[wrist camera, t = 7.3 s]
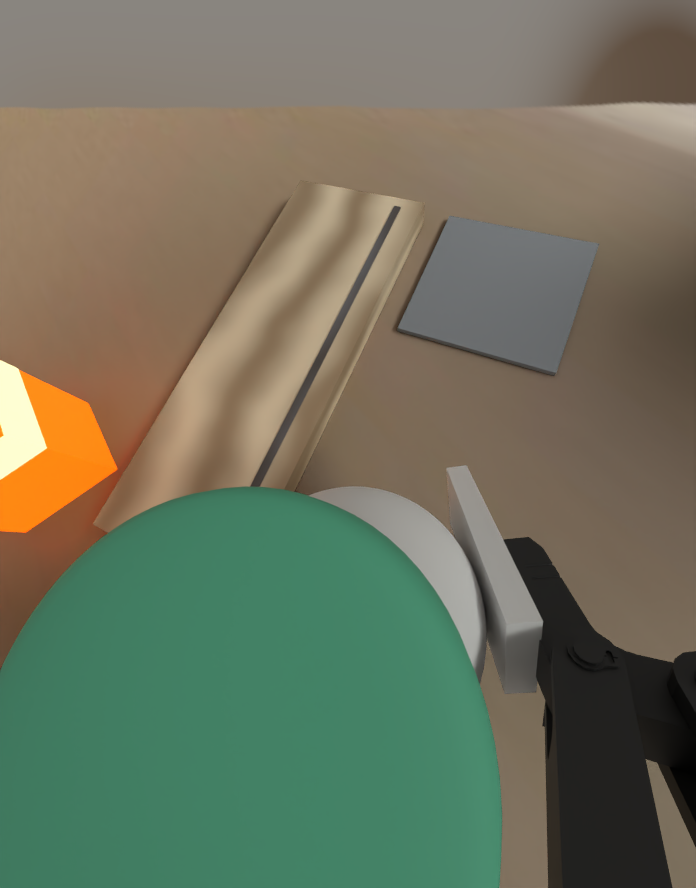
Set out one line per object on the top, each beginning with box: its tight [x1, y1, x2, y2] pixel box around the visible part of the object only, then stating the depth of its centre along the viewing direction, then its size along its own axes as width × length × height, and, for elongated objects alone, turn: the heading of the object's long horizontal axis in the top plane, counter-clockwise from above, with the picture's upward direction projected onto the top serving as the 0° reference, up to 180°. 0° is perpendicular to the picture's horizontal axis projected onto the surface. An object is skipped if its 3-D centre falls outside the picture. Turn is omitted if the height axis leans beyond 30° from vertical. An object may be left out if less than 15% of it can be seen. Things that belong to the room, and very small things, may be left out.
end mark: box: [398, 216, 599, 376], centre depth 28 cm, size 12×12×1 cm
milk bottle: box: [0, 486, 502, 888], centre depth 12 cm, size 8×8×20 cm
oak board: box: [93, 181, 425, 533], centre depth 28 cm, size 12×34×2 cm, turn 155°
